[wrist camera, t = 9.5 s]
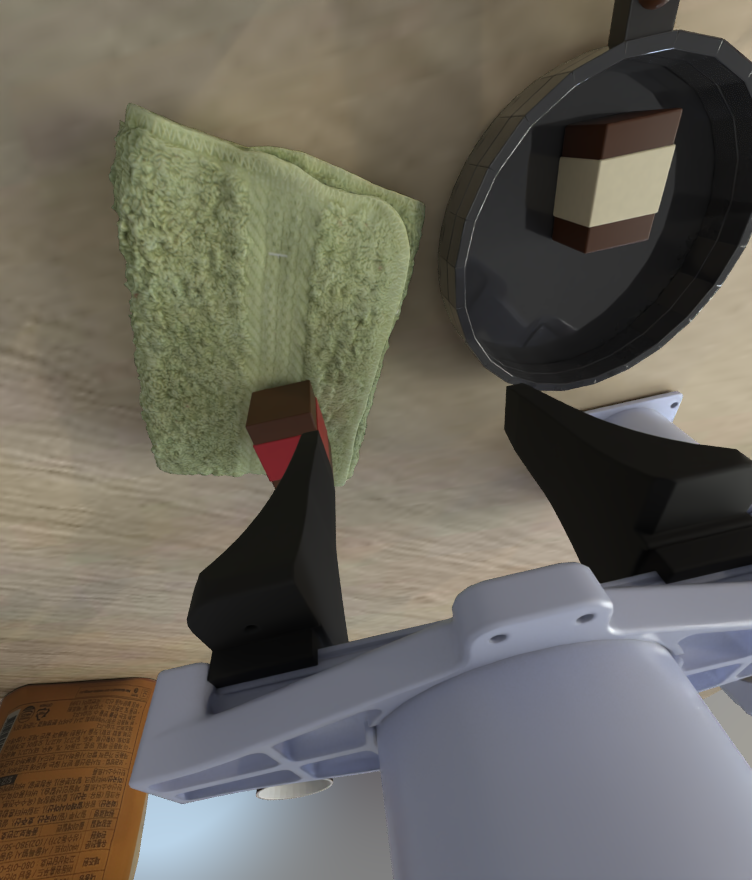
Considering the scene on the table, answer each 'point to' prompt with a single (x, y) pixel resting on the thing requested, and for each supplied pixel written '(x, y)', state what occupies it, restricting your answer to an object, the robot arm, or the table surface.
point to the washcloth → (253, 287)
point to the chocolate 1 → (283, 425)
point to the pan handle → (641, 18)
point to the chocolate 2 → (613, 178)
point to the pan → (611, 270)
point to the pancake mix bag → (72, 780)
